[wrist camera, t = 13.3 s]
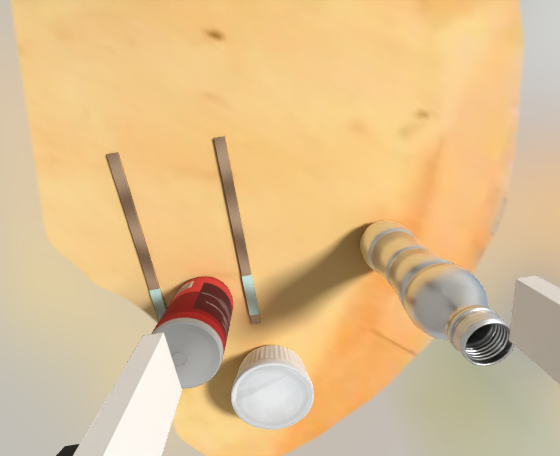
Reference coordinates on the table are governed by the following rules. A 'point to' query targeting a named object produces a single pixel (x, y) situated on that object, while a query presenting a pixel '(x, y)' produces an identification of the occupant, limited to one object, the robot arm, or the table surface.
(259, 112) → the table surface
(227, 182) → the guide strips
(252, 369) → the ramekin
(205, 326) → the canned food
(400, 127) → the table surface
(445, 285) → the plastic bottle
